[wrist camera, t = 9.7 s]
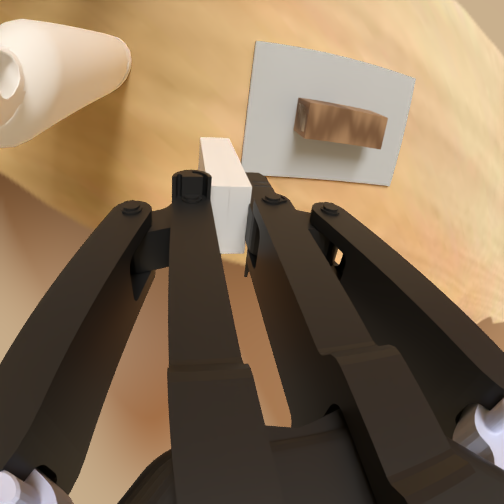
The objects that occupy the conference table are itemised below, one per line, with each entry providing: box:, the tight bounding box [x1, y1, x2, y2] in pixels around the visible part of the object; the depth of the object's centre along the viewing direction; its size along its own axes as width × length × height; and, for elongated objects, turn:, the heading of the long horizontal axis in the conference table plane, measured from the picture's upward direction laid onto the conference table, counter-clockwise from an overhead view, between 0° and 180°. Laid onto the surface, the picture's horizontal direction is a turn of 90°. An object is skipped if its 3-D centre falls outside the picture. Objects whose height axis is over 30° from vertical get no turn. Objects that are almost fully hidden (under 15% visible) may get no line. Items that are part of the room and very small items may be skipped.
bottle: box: [0, 19, 132, 148], centre depth 19 cm, size 8×8×28 cm
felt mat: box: [241, 41, 415, 186], centre depth 40 cm, size 18×24×1 cm
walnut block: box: [293, 97, 388, 150], centre depth 38 cm, size 4×4×11 cm
